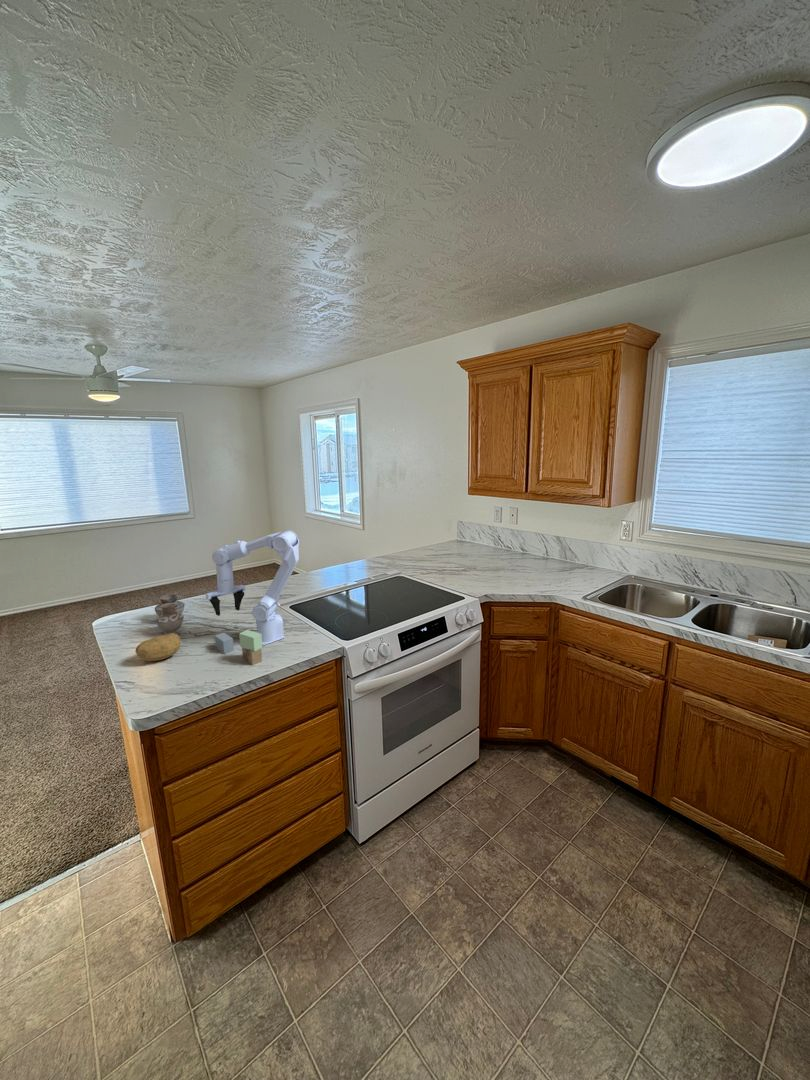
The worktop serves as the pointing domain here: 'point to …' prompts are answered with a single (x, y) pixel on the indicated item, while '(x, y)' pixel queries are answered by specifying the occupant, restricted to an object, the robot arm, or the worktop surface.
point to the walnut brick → (252, 656)
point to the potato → (158, 647)
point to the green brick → (250, 640)
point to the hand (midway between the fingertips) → (227, 612)
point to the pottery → (169, 614)
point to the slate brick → (224, 643)
